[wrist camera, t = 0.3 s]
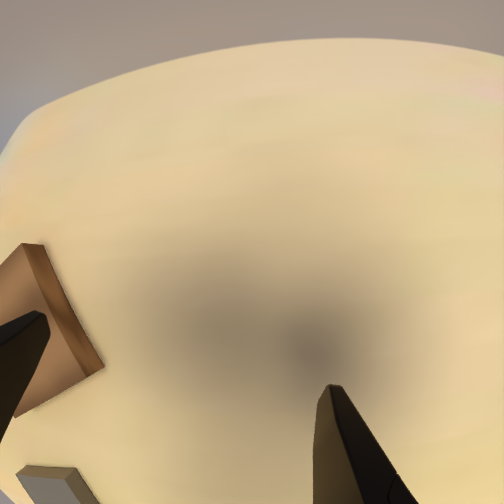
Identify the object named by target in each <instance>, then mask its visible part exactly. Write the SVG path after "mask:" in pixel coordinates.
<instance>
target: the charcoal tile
mask: <svg viewBox="0 0 504 504" xmlns="http://www.w3.org/2000/svg"><path fill="white" fill-rule="evenodd" d="M15 475H16V476H17V478H18V479H19V481H20V482H21V484H22V486H23V487H24V489H25V490H26V492H27V493H28V495H29V496H30V498H31V499H32V500H33V502H34V503H35V504H99V503H98V501H97V500H96V498H95V497H94V496H93V494H92V493H91V491H90V490H89V488H88V487H87V485H86V484H85V482H84V480H83V479H82V477H81V476H80V474H79V472H78V471H77V469H76V468H56V467H39V466H25V467H24V468H23V469H21V470H20V471H19V472H17V473H16V474H15Z"/></svg>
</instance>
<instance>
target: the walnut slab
mask: <svg viewBox="0 0 504 504" xmlns="http://www.w3.org/2000/svg"><path fill="white" fill-rule="evenodd" d="M33 310H38V311H41V312H43V313H45V314H46V316H47V319H48V323H49V327H50V330H51V336H50V339H49V341H48V344H47V346H46V348H45V350H44V353H43V355H42V357H41V359H40V362H39V364H38V367H37V369H36V371H35V373H34V375H33V377H32V379H31V381H30V383H29V385H28V387H27V389H26V391H25V393H24V394H23V396H22V398H21V400H20V402H19V404H18V406H17V408H16V410H15V412H14V415H13V416H14V418H17V417H18V416H20V415H22V414H24V413H26V412H27V411H29V410H31V409H33V408H34V407H36V406H38V405H40V404H41V403H43V402H45V401H47V400H48V399H50V398H52V397H54V396H55V395H57V394H59V393H61V392H62V391H64V390H66V389H68V388H69V387H71V386H73V385H75V384H76V383H78V382H80V381H81V380H83V379H85V378H87V377H88V376H90V375H92V374H93V373H95V372H97V371H98V370H100V369H102V368H103V367H104V365H103V363H102V362H101V360H100V359H99V357H98V355H97V353H96V352H95V350H94V348H93V347H92V345H91V343H90V341H89V340H88V338H87V336H86V334H85V333H84V331H83V329H82V327H81V325H80V323H79V321H78V320H77V318H76V316H75V314H74V312H73V310H72V308H71V306H70V304H69V302H68V300H67V298H66V296H65V294H64V292H63V290H62V288H61V286H60V283H59V281H58V279H57V277H56V275H55V272H54V270H53V268H52V266H51V263H50V261H49V259H48V256H47V254H46V252H45V249H44V247H43V245H38V244H27V243H21V244H20V245H19V246H18V247H17V248H16V249H15V250H14V251H13V252H12V253H11V254H10V255H9V256H8V258H7V259H6V260H5V261H4V262H3V263H2V264H1V265H0V326H1V325H3V324H5V323H7V322H9V321H11V320H13V319H16V318H18V317H20V316H22V315H24V314H26V313H29V312H31V311H33Z"/></svg>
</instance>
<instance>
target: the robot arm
mask: <svg viewBox="0 0 504 504" xmlns="http://www.w3.org/2000/svg"><path fill="white" fill-rule="evenodd" d="M50 336H51V330H50V327H49V323H48V319H47V316H46V314H45V313H43V312H41V311H38V310H33V311H31V312H29V313H26V314H24V315H22V316H20V317H18V318H16V319H13V320H11V321H9V322H7V323H5V324H3V325H1V326H0V443H1V440H2V438H3V436H4V434H5V432H6V429H7V427H8V425H9V423H10V421H11V419H12V417H13V415H14V412H15V410H16V408H17V406H18V404H19V402H20V400H21V398H22V396H23V394H24V393H25V391H26V389H27V387H28V385H29V383H30V381H31V379H32V377H33V375H34V373H35V371H36V369H37V367H38V364H39V362H40V359H41V357H42V355H43V353H44V350H45V348H46V346H47V344H48V341H49V339H50ZM313 504H419V503H418V502H417V501H416V499H415V498H414V497H413V495H412V494H411V493H410V491H409V490H408V488H407V487H406V485H405V484H404V482H403V481H402V479H401V478H400V476H399V474H397V471H396V470H395V468H394V467H393V465H392V464H391V462H390V461H389V459H388V457H387V456H386V454H385V453H384V451H383V450H382V448H381V446H380V445H379V443H378V442H377V440H376V439H375V437H374V436H373V434H372V432H371V431H370V429H369V428H368V426H367V425H366V423H365V421H364V420H363V418H362V417H361V415H360V414H359V412H358V411H357V409H356V407H355V406H354V404H353V403H352V401H351V400H350V398H349V397H348V395H347V393H346V392H345V390H344V389H343V387H342V386H340V385H333V384H329V385H327V386H326V388H325V390H324V391H323V393H322V395H321V397H320V398H319V400H318V404H317V412H316V423H315V433H314V443H313Z"/></svg>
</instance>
